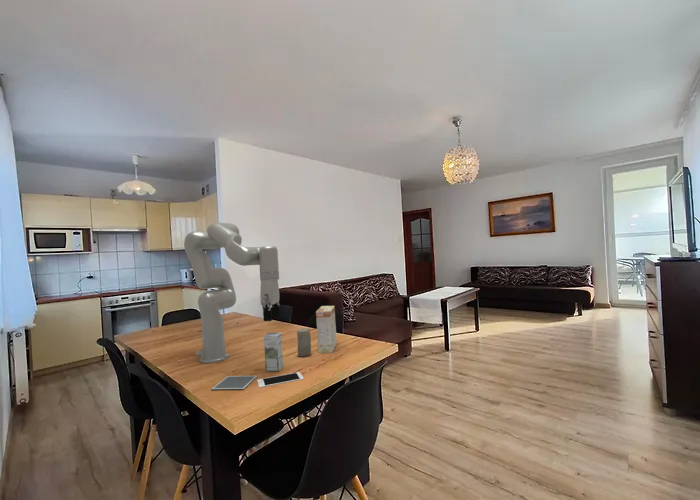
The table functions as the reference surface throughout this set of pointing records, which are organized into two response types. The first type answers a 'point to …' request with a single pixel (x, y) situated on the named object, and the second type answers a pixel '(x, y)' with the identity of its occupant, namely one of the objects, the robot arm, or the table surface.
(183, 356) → the table surface
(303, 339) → the carving
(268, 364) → the syrup box
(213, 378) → the table surface
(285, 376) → the cell phone
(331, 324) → the coffeecake box
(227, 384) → the mat
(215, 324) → the robot arm
